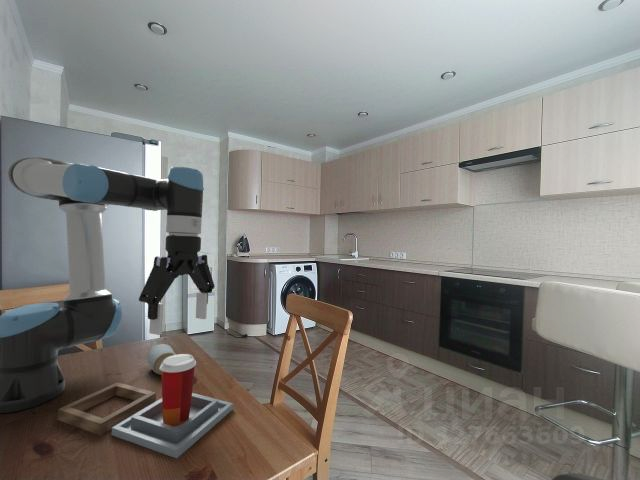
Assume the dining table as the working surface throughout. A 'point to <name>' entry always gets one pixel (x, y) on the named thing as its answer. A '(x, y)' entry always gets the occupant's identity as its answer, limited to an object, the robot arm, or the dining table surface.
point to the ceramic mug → (159, 356)
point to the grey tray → (172, 439)
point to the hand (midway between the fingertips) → (180, 325)
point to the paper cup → (177, 388)
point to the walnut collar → (93, 423)
